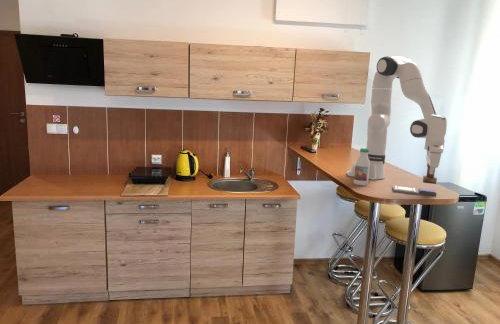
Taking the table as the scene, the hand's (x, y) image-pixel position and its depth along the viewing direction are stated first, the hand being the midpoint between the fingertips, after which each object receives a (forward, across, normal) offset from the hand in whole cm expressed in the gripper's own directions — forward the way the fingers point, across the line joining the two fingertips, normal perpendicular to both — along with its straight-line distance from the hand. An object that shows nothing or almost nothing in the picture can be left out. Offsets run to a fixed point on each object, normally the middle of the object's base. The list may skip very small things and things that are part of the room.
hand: (430, 172), depth 205 cm
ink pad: (+11, 0, 0) cm, 11 cm away
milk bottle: (+11, -3, -34) cm, 36 cm away
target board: (+11, 0, -11) cm, 16 cm away
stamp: (+5, 0, 0) cm, 5 cm away
